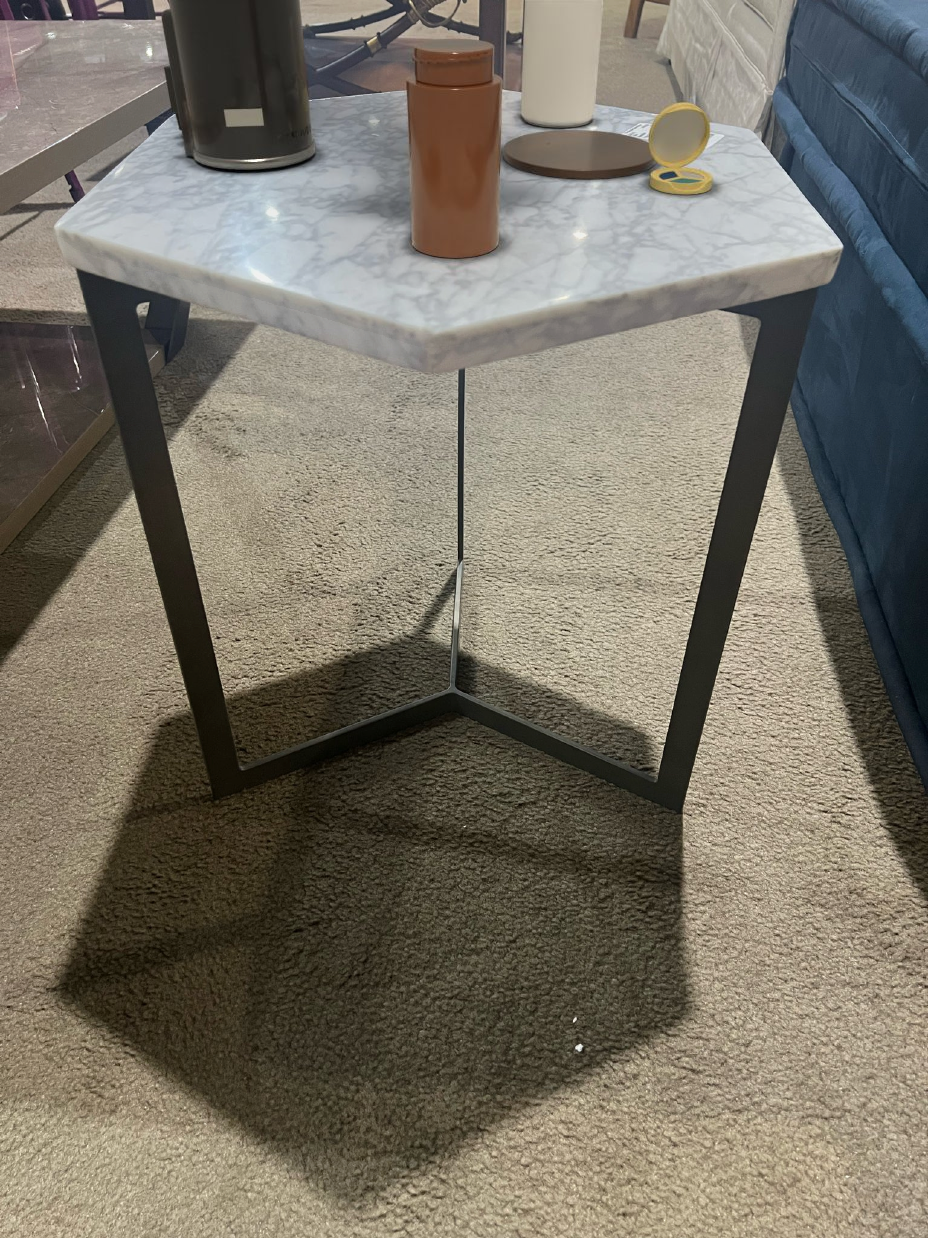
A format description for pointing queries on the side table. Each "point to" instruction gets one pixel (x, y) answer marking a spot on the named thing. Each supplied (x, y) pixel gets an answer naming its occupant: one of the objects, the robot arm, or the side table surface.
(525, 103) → the can
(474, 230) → the jar
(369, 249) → the side table surface
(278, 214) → the side table surface
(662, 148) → the eyeshadow
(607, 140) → the coaster
